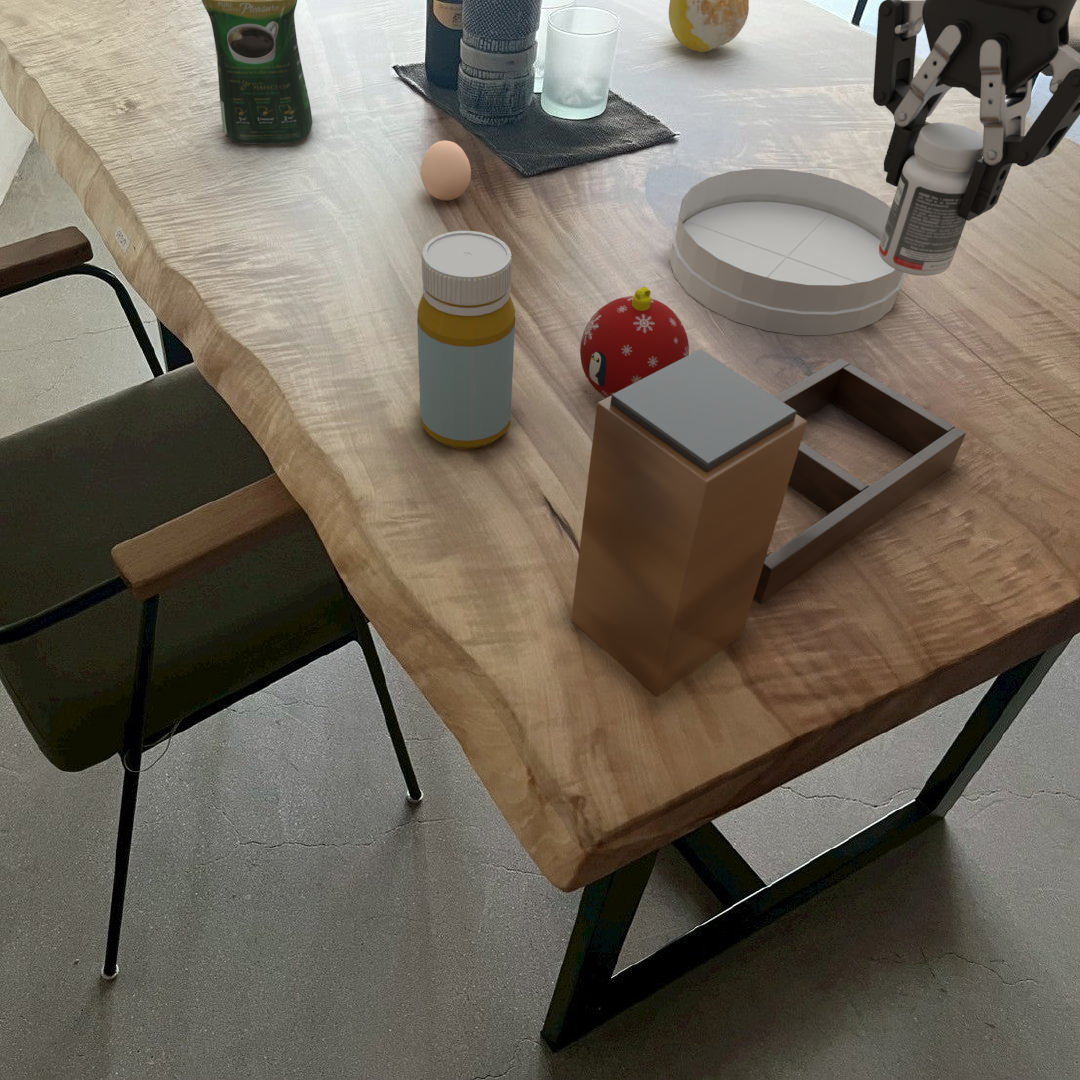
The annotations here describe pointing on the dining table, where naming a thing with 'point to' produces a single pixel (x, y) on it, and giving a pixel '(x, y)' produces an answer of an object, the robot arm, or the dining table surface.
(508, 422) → the bottle
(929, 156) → the pill bottle
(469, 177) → the egg
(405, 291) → the dining table surface
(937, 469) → the rack
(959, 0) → the robot arm
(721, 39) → the fruit
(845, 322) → the dish
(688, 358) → the coaster
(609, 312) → the christmas ornament
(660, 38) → the dining table surface
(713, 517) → the riser
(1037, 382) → the dining table surface
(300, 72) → the coffee jar
